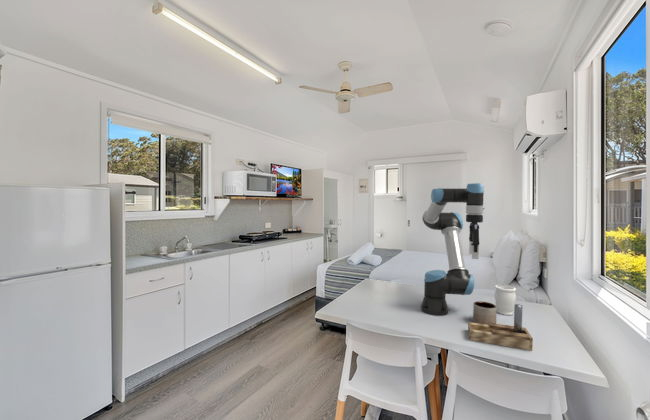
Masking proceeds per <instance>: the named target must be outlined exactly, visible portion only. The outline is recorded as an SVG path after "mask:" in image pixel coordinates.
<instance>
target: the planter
mask: <svg viewBox="0 0 650 420" xmlns="http://www.w3.org/2000/svg"><path fill="white" fill-rule="evenodd" d="M496 310H497V307H496V304H495V303H494V304H493V303H491V302H487V301H479V300H478V301H477V300H476V301H474V302H473V310H472V313H473V314H472V320H473V322H474V323H479V324H486V325H489V323H496V324H497V311H496Z"/></svg>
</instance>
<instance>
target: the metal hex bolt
mask: <svg viewBox="0 0 650 420" xmlns="http://www.w3.org/2000/svg"><path fill="white" fill-rule="evenodd" d="M513 326H514V332H516V333H522V327H523V305H522V304H518V303H515V307H514V310H513Z"/></svg>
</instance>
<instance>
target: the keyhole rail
mask: <svg viewBox="0 0 650 420" xmlns="http://www.w3.org/2000/svg"><path fill="white" fill-rule="evenodd" d="M467 324H468V325H467V331H468V335H469V339H470V341H472V342H473V341H474V342H479V343H485V344H492V345H498V346H503V347H510V348H517V349H520V350H521V349H522V350H527V351H533V346H534V344H533V343H534V342H533V336H532V335H531V334H530V332H529V330H528V329H527V327H524V326H522V333H516V332H514V325H510V324H509V325H508V324H503V323H502V324H501V323H497V322H496V323H489V325H486V324H479V323H476V322H471V321H468V322H467Z"/></svg>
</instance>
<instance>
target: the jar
mask: <svg viewBox="0 0 650 420" xmlns="http://www.w3.org/2000/svg"><path fill="white" fill-rule="evenodd" d="M494 288H495V290H494V291H495V292H494V301H495V302H494V303H495V305H496V307H497V308H496V313H498V314H500V315H505V316H514V307H515V304H516V301H517V295H516V290H517V288H516V287H514V286H511V285H505V284H496V285H494Z"/></svg>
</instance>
